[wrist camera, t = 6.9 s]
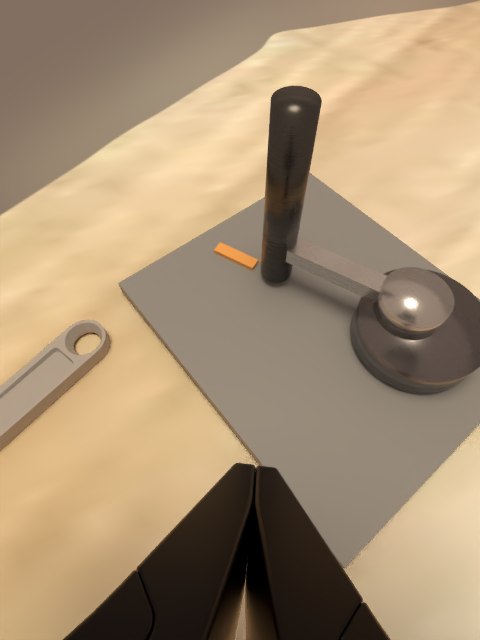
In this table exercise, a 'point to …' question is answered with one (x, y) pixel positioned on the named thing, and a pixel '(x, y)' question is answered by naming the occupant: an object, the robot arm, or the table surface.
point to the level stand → (304, 366)
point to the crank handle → (365, 272)
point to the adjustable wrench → (47, 378)
